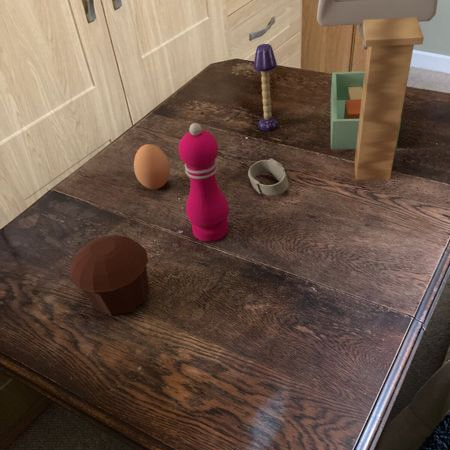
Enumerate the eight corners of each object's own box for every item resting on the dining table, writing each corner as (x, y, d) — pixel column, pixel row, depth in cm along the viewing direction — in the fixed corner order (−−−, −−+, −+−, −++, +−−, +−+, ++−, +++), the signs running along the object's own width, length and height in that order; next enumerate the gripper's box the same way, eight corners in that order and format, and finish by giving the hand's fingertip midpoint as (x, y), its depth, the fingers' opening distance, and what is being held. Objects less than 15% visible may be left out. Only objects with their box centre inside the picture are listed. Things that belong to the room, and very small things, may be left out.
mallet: (367, 99, 112) (369, 76, 108) (375, 135, 101) (379, 112, 97) (340, 100, 112) (341, 78, 109) (345, 137, 102) (347, 114, 98)
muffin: (142, 260, 83) (128, 212, 75) (167, 301, 76) (154, 253, 68) (74, 287, 80) (53, 240, 72) (94, 333, 73) (72, 286, 65)
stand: (391, 165, 94) (417, 16, 75) (394, 190, 89) (423, 37, 70) (348, 165, 95) (363, 19, 76) (349, 190, 90) (365, 39, 71)
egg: (158, 172, 100) (149, 132, 94) (180, 184, 97) (172, 143, 90) (132, 188, 97) (121, 147, 91) (153, 201, 94) (143, 159, 87)
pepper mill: (208, 249, 83) (190, 142, 68) (182, 231, 87) (160, 125, 72) (239, 229, 86) (229, 121, 71) (213, 212, 90) (198, 106, 75)
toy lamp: (252, 127, 109) (247, 48, 97) (265, 118, 111) (262, 39, 99) (269, 133, 107) (267, 52, 94) (282, 123, 109) (281, 44, 96)
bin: (387, 99, 112) (391, 70, 107) (395, 150, 97) (401, 119, 93) (330, 100, 114) (332, 72, 109) (330, 151, 99) (332, 121, 95)
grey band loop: (296, 191, 91) (296, 168, 88) (268, 204, 90) (267, 181, 86) (267, 170, 97) (267, 147, 93) (241, 182, 95) (239, 159, 92)
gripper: (444, -50, 82) (427, 39, 92) (319, -41, 85) (315, 43, 95) (451, -39, 77) (432, 52, 88) (318, -30, 81) (315, 57, 91)
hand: (370, 48), depth 91 cm, fingers closed
